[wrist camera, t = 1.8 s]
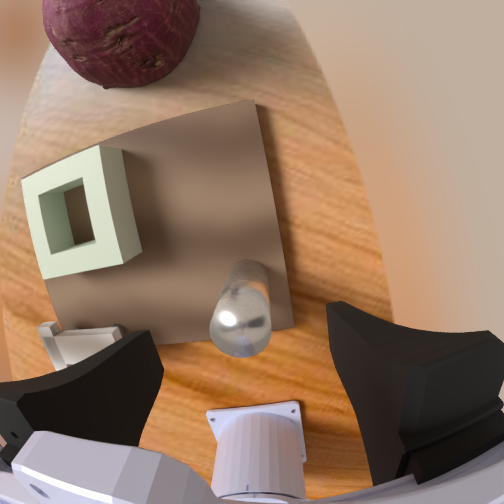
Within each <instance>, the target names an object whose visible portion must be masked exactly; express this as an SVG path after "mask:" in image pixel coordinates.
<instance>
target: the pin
mask: <svg viewBox="0 0 504 504" xmlns="http://www.w3.org/2000/svg"><path fill="white" fill-rule="evenodd" d="M209 332H210V337H211V339H212V341H213V343H214V344H215V346H216V347H217V348H218V349H219V350H220V351H222V352H223V353H225V354H227V355H230V356H233V357H240V358H244V357H250V356H254V355H256V354H258V353H260V352H261V351H262V350H263V349H264V348H265V347H266V346H267V345H268V343H269V341H270V338H271V315H270V300H269V285H268V275H267V272H266V270H265V268H264V267H263V266H262V265H261V264H260V263H259V262H257V261H255V260H251V259H243V260H240V261H238V262H236V263H234V264H233V265H232V266H231V268H230V269H229V271H228V274H227V277H226V280H225V283H224V285H223V288H222V291H221V294H220V297H219V299H218V302H217V305H216V308H215V311H214V314H213V317H212V319H211V322H210V327H209Z"/></svg>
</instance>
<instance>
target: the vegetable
mask: <svg viewBox="0 0 504 504" xmlns="http://www.w3.org/2000/svg"><path fill="white" fill-rule="evenodd" d="M42 10H43V24H44V28H45V31H46V34H47V36H48V38H49V39H50V41H51V43H52V44H53V46H54V48H55V49H56V50H57V51H58V53H59V54H60V55H61V56H62V57H63V58H64V59H65V61H66V62H67V63H68V64H69V66H70V67H71V68H72V69H73V70H74V71H75V72H76V73H78V74H79V75H80V76H81V77H83V78H84V79H86V80H88V81H90V82H93V83H96V84H98V85H102V86H103V88H104V89H107V88H110V87H114V88H116V87H118V88H126V87H137V86H143V85H146V84H149V83H151V82H154V81H157V80H159V79H161V78H162V77H164V76H165V75H167V74H168V73H170V72H171V71H172V70H173V69H174V68H175V67H176V66H177V65H178V64H179V63H180V62H181V60H182V59H183V57H184V56H185V54H186V52H187V51H188V48H189V46H190V44H191V42H192V39H193V37H194V34H195V31H196V28H197V26H198V23H199V18H200V16H199V11H200V6H199V5H197V2H196V0H43V5H42Z"/></svg>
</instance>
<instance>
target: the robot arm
mask: <svg viewBox="0 0 504 504" xmlns="http://www.w3.org/2000/svg"><path fill="white" fill-rule="evenodd" d="M326 311H327V322H328V333H329V345H330V351H331V354H332V358H333V361H334V365H335V368H336V370H337V372H338V375H339V377H340V379H341V381H342V384H343V386H344V388H345V390H346V393H347V395H348V397H349V399H350V402H351V404H352V406H353V409H354V411H355V414H356V417H357V420H358V424H359V427H360V431H361V435H362V438H363V442H364V446H365V450H366V454H367V459H368V463H369V467H370V472H371V477H372V482H373V487H370V488H366V489H363V490H359V491H355V492H351V493H346V494H342V495H337V496H333V497H327V498H322V499H316V500H311V499H306V490H305V481H304V473H303V464H302V463H304V462H306V461H307V458H306V450H305V443H304V435H303V428H302V421H301V414H300V407H299V403H298V402H297V401H288V402H282V403H275V404H267V405H259V406H250V407H240V408H229V409H215V410H208V411H207V413H206V417H207V419H208V421H209V424H210V426H211V429H212V431H213V433H214V435H215V438H216V440H217V442H218V446H217V452H216V458H215V465H214V471H213V477H212V483H211V488H210V486H209V485H208V483H207V482H206V481H205V480H204V479H203V478H202V477H201V476H200V475H199V474H197V473H196V472H195V471H194V470H193V469H192V468H191V467H190V466H189V465H187V464H185V463H183V462H181V461H179V460H177V459H174V458H172V457H170V456H168V455H166V454H164V453H161V452H157V451H152V450H148V449H144V448H140V447H138V446H139V442H140V438H141V434H142V431H143V428H144V426H145V423H146V421H147V418H148V416H149V414H150V411H151V409H152V407H153V404H154V402H155V399H156V397H157V394H158V392H159V389H160V386H161V382H162V378H163V373H164V367H163V365H162V362H161V360H160V357H159V355H158V352H157V349H156V347H155V344H154V341H153V339H152V336H151V333H150V330H142V331H136V332H133V333H131V334H129V335H127V336H125V337H123V338H121V339H119V340H118V341H116V342H114V343H112V344H111V345H109V346H107V347H106V348H104V349H102V350H101V351H99V352H97V353H95V354H93V355H91V356H90V357H88V358H86V359H84V360H82V361H80V362H78V363H76V364H74V365H71V366H69V367H66V368H64V369H61V370H59V371H56V372H53V373H49V374H46V375H43V376H39V377H35V378H31V379H26V380H20V381H12V382H2V383H0V434H1V436H2V437H3V438H4V440H5V441H6V442H7V444H6V446H5V447H2V446H1V445H0V504H504V413H503V412H502V411H501V409H502V408H503V406H504V403H503V401H502V400H501V399H500V398H499V397H498V395H499V392H500V389H501V386H502V384H503V381H504V343H503V342H502V341H501V340H500V339H498V338H497V337H496V336H495V335H494V334H492V333H491V332H490V331H488V330H487V331H476V332H465V333H445V332H432V331H425V330H418V329H412V328H408V327H404V326H401V325H397V324H394V323H390V322H388V321H385V320H382V319H380V318H377V317H375V316H372V315H370V314H368V313H366V312H364V311H362V310H360V309H358V308H356V307H354V306H352V305H350V304H347V303H345V302H343V301H338V302H333V303H328V304H326ZM293 409H296V410H293ZM213 418H215V419H213Z"/></svg>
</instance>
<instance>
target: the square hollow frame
mask: <svg viewBox="0 0 504 504" xmlns="http://www.w3.org/2000/svg"><path fill="white" fill-rule="evenodd" d="M21 182H22V189H23V196H24V202H25V207H26V213H27V218H28V223H29V228H30V232H31V237H32V241H33V245H34V249H35V253H36V256H37V260H38V264H39V267H40V271H41V274H42V277H43V280H44V279H49V278H54V277H59V276H64V275H69V274H74V273H79V272H84V271H89V270H94V269H99V268H104V267H109V266H114V265H119V264H124V263H125V262H127V261H128V260H130V259H131V258H133V257H135V256H136V255H138V254H139V253H141V252H143V251H142V248H141V243H140V239H139V235H138V231H137V227H136V222H135V218H134V213H133V209H132V204H131V199H130V194H129V189H128V184H127V179H126V173H125V168H124V162H123V156H122V149H120V148H114V147H109V146H104V145H97V146H94V147H92V148H89V149H87V150H84V151H82V152H80V153H77V154H75V155H73V156H70V157H68V158H66V159H63V160H61V161H59V162H57V163H55V164H53V165H50V166H48V167H46V168H44V169H42V170H40V171H38V172H36V173H34V174H32V175H30V176H28V177H26V178H24V179H23V180H21ZM83 184H84V189H85V194H86V200H87V205H88V210H89V214H90V219H91V223H92V228H93V232H94V236H95V240H92V241H88V242H84V243H81V244H77V245H75V243H74V239H73V235H72V231H71V227H70V222H69V218H68V213H67V208H66V203H65V198H64V192H65V191H67V190H70V189H73V188H75V187H78V186H81V185H83Z"/></svg>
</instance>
